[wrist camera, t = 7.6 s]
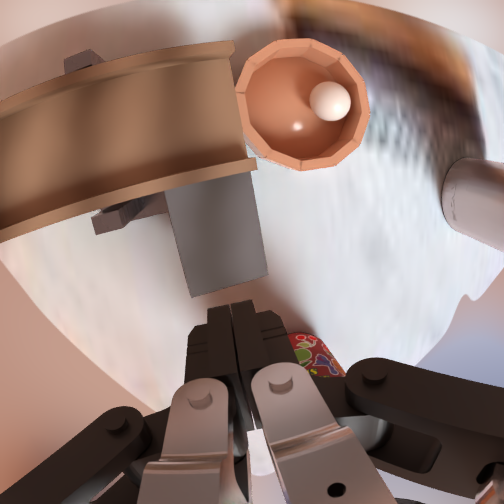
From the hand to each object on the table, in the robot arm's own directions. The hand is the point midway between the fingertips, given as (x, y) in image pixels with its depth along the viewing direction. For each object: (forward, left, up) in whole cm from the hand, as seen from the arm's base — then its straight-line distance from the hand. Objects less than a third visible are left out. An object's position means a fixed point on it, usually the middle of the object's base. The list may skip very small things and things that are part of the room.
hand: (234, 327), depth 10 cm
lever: (+8, -5, -14) cm, 16 cm away
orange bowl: (-8, -9, -18) cm, 22 cm away
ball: (-11, -9, -16) cm, 21 cm away
